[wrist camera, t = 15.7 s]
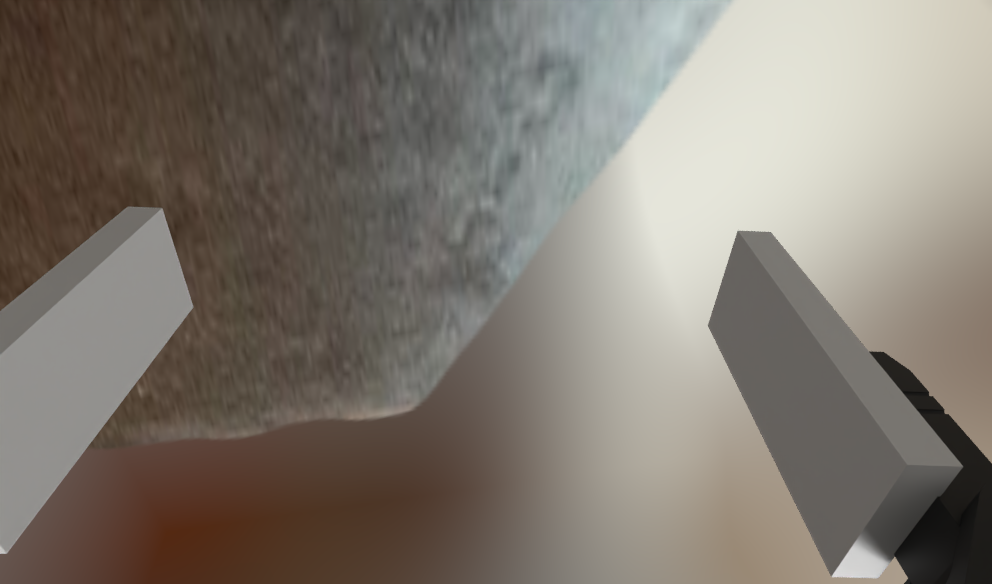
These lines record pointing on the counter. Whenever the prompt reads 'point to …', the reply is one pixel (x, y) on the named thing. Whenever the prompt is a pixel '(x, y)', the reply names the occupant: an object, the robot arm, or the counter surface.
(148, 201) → the counter surface
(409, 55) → the counter surface
